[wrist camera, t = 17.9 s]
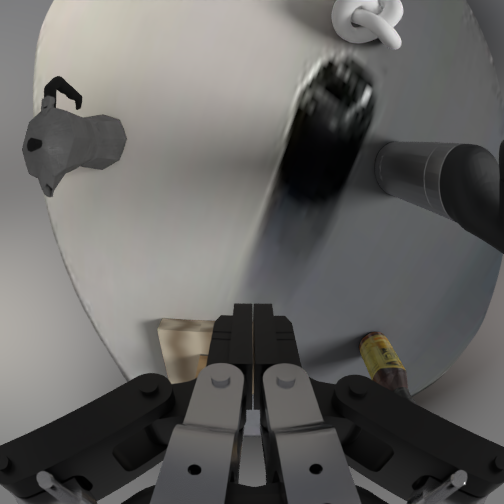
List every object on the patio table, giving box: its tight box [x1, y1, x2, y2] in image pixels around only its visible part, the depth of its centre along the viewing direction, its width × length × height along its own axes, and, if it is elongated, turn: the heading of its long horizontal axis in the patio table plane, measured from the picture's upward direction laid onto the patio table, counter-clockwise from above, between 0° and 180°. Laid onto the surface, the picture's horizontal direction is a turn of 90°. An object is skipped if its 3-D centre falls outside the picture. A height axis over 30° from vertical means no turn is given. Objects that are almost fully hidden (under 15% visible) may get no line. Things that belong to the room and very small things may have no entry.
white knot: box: [331, 0, 403, 50], centre depth 27 cm, size 11×12×9 cm
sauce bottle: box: [359, 332, 416, 404], centre depth 42 cm, size 7×6×20 cm
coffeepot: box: [22, 76, 127, 197], centre depth 29 cm, size 15×9×18 cm, turn 178°
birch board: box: [157, 318, 254, 394], centre depth 50 cm, size 20×16×4 cm
